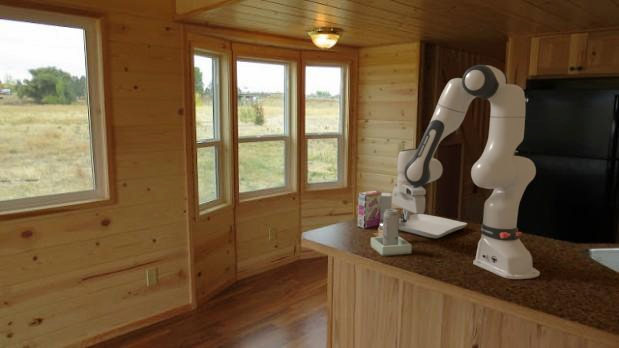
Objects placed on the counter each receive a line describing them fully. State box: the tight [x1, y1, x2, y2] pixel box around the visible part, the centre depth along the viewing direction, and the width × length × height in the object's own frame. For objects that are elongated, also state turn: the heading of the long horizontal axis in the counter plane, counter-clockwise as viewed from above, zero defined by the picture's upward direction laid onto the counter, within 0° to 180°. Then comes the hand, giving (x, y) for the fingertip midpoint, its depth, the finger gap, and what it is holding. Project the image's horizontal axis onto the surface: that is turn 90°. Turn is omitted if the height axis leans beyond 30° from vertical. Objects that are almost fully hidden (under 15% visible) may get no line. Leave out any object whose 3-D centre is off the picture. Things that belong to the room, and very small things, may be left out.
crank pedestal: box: [372, 227, 383, 237], centre depth 183 cm, size 14×6×6 cm, turn 14°
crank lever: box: [378, 211, 407, 229], centre depth 179 cm, size 13×5×6 cm, turn 110°
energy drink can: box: [382, 208, 400, 246], centre depth 169 cm, size 6×6×15 cm
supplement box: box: [380, 192, 393, 221], centre depth 214 cm, size 7×7×13 cm
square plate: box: [399, 213, 468, 239], centre depth 197 cm, size 27×27×4 cm
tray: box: [370, 235, 412, 257], centre depth 169 cm, size 12×12×4 cm
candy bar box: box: [356, 190, 382, 230], centre depth 201 cm, size 11×5×16 cm, turn 130°
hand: (406, 219), depth 179 cm, fingers closed
